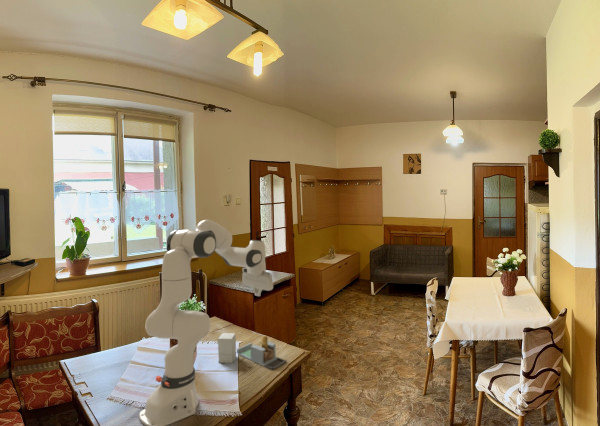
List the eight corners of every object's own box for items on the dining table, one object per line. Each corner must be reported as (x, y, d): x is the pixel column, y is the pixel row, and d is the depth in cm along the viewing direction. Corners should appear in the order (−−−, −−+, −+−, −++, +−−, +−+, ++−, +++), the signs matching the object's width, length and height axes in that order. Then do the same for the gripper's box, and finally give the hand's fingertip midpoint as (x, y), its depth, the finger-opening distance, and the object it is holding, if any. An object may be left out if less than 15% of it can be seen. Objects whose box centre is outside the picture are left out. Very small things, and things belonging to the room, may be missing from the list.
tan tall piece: (265, 361, 179) (265, 340, 178) (255, 357, 183) (255, 336, 182) (273, 357, 183) (273, 336, 183) (264, 353, 188) (263, 333, 187)
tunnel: (272, 370, 173) (272, 355, 172) (236, 354, 190) (236, 340, 189) (286, 362, 180) (286, 348, 180) (250, 347, 197) (250, 334, 197)
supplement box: (236, 356, 187) (236, 333, 186) (232, 363, 180) (232, 338, 179) (222, 355, 188) (222, 332, 187) (218, 362, 180) (217, 338, 179)
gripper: (275, 271, 185) (276, 298, 186) (248, 266, 198) (249, 291, 199) (267, 274, 180) (267, 301, 181) (240, 268, 193) (240, 293, 194)
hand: (257, 295), depth 190 cm, fingers closed
